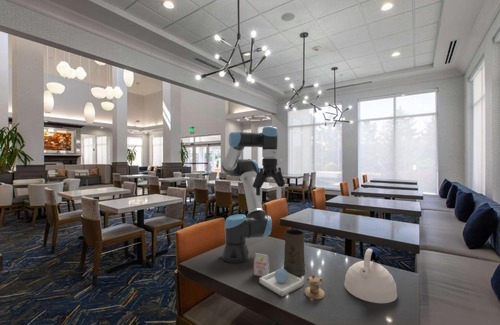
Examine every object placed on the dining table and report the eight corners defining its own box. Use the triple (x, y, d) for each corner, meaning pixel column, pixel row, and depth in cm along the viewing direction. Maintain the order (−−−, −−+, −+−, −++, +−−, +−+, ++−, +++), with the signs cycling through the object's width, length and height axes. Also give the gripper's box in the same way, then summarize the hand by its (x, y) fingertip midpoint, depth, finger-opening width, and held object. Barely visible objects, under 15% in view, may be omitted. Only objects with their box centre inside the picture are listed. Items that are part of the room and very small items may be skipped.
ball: (271, 281, 109) (271, 268, 109) (281, 277, 113) (281, 264, 113) (281, 287, 104) (281, 273, 104) (291, 282, 108) (291, 269, 108)
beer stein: (305, 277, 114) (306, 234, 115) (282, 275, 116) (283, 233, 117) (304, 265, 129) (305, 227, 130) (284, 263, 131) (285, 226, 132)
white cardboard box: (256, 271, 120) (256, 251, 120) (269, 274, 117) (269, 253, 117) (253, 274, 117) (253, 254, 117) (266, 277, 114) (266, 256, 114)
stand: (305, 298, 97) (306, 282, 97) (303, 287, 105) (303, 272, 105) (326, 299, 97) (326, 283, 96) (322, 288, 105) (322, 273, 104)
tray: (259, 282, 110) (259, 277, 110) (280, 273, 118) (280, 268, 118) (282, 296, 99) (282, 291, 99) (303, 285, 108) (303, 280, 108)
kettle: (337, 291, 103) (337, 249, 102) (352, 273, 119) (353, 236, 118) (391, 311, 90) (392, 262, 89) (401, 288, 106) (402, 246, 105)
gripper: (255, 158, 111) (255, 204, 112) (292, 158, 127) (291, 198, 127) (245, 158, 117) (245, 202, 117) (281, 158, 133) (281, 196, 133)
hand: (269, 200), depth 122 cm, fingers open, 13 cm apart
